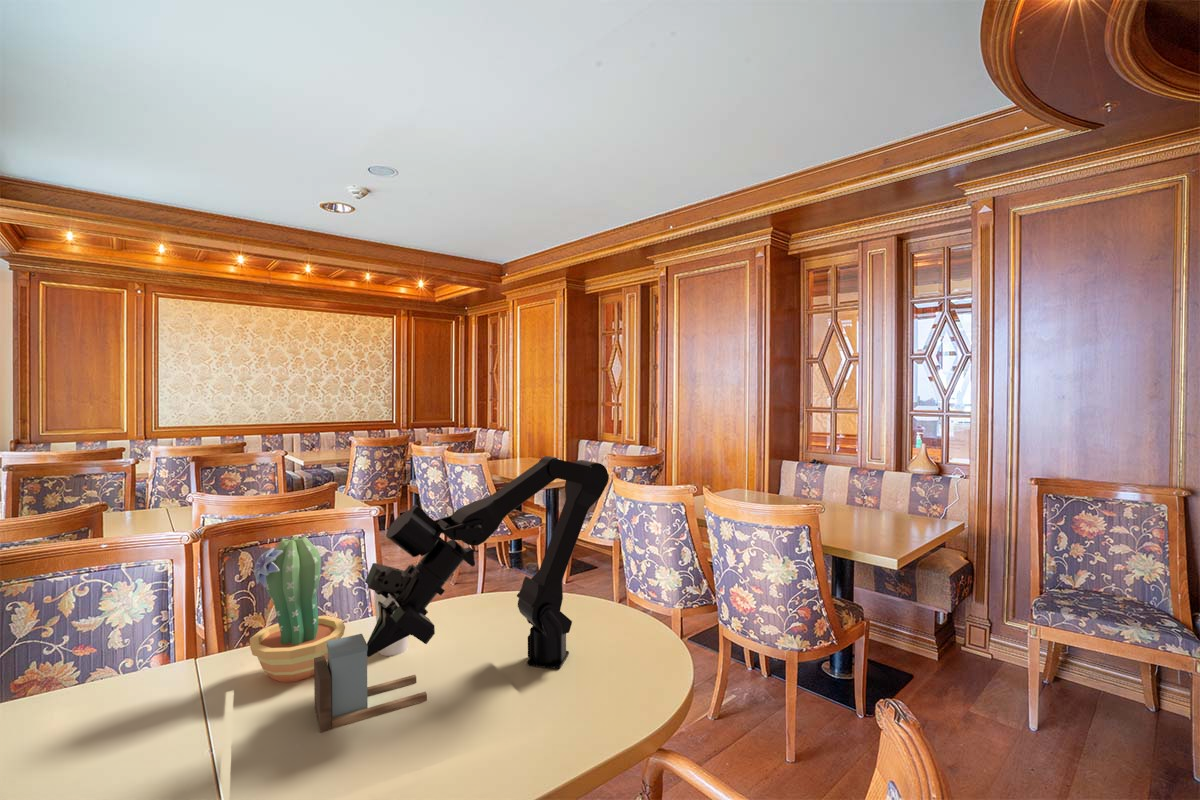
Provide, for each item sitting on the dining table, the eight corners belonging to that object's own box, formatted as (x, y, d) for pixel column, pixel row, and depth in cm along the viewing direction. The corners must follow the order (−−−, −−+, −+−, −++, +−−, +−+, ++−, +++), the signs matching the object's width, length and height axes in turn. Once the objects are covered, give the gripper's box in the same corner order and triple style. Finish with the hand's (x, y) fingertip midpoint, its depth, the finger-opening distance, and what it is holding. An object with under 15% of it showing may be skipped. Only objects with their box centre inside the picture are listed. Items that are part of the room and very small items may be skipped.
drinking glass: (400, 665, 105) (399, 585, 105) (367, 661, 107) (367, 583, 106) (418, 649, 112) (418, 574, 112) (388, 646, 113) (387, 572, 113)
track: (414, 686, 98) (414, 635, 97) (427, 708, 91) (426, 652, 91) (311, 715, 89) (311, 658, 89) (317, 741, 82) (316, 680, 82)
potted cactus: (261, 663, 106) (260, 531, 106) (350, 651, 111) (349, 525, 111) (236, 706, 92) (235, 554, 91) (340, 690, 96) (338, 545, 96)
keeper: (362, 697, 92) (361, 633, 92) (368, 713, 87) (367, 645, 87) (327, 707, 89) (326, 641, 89) (331, 723, 85) (330, 653, 84)
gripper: (384, 533, 100) (317, 609, 94) (410, 558, 84) (332, 652, 78) (430, 568, 104) (369, 642, 99) (463, 598, 88) (393, 689, 83)
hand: (365, 654), depth 89 cm, fingers closed, pressing on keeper
